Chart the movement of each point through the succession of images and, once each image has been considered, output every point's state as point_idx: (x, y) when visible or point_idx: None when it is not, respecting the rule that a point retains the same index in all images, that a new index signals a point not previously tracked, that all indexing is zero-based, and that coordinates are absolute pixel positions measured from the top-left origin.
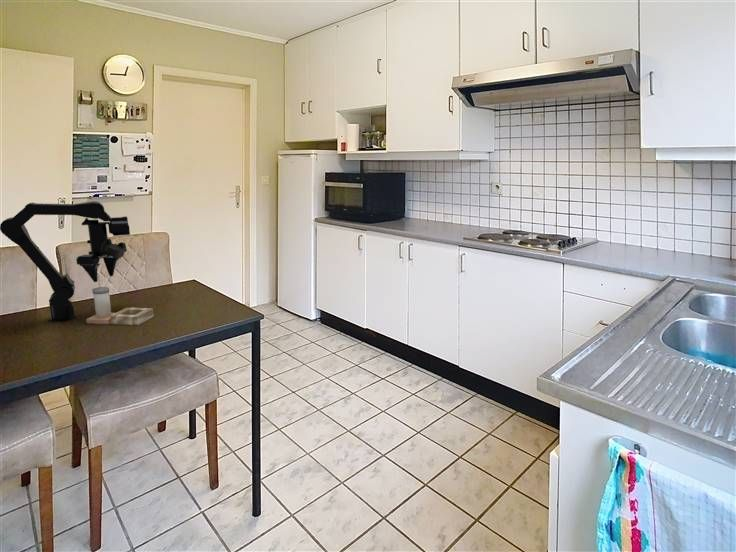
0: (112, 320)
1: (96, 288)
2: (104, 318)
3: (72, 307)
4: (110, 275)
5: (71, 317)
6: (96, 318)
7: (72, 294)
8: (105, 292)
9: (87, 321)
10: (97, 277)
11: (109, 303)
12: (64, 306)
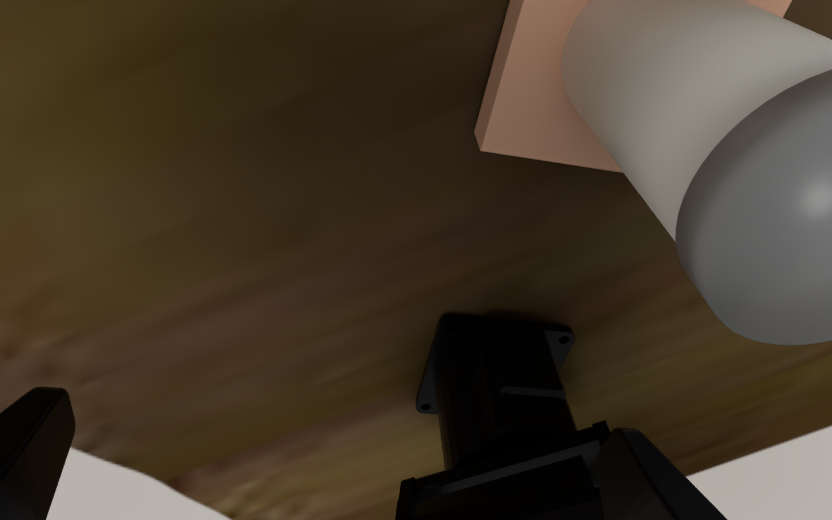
0: None
1: (786, 310)
2: None
3: (513, 378)
4: (65, 429)
5: (521, 323)
6: None
7: (586, 475)
8: None
9: None
10: (669, 502)
11: (748, 7)
12: (571, 421)
